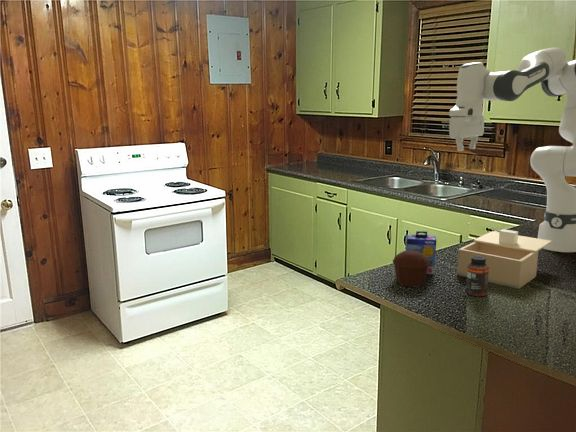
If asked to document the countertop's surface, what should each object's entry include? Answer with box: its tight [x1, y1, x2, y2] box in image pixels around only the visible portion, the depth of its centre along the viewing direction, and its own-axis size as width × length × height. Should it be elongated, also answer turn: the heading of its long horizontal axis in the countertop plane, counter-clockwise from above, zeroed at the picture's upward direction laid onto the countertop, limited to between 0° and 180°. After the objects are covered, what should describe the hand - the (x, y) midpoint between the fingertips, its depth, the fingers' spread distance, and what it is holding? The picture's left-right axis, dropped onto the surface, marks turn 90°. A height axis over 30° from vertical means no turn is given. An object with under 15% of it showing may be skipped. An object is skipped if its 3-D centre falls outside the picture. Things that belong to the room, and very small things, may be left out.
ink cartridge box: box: [405, 230, 437, 275], centre depth 173 cm, size 10×6×14 cm, turn 79°
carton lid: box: [473, 228, 552, 253], centre depth 175 cm, size 16×20×5 cm
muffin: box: [392, 250, 430, 288], centre depth 163 cm, size 12×11×10 cm
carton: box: [456, 241, 539, 290], centre depth 168 cm, size 15×20×9 cm
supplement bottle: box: [465, 256, 489, 297], centre depth 152 cm, size 6×6×11 cm
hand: (466, 150), depth 182 cm, fingers open, 8 cm apart
